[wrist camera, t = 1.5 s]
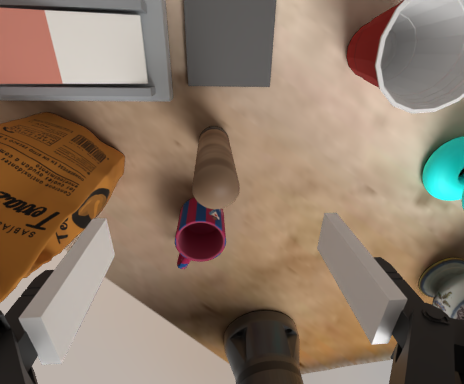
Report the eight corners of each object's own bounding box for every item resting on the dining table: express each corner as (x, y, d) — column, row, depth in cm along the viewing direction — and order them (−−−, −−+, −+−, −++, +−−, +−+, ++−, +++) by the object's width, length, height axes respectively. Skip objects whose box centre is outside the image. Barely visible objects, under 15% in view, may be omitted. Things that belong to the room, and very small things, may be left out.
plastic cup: (306, 69, 33) (354, 73, 22) (366, -25, 29) (459, -76, 18) (369, 114, 36) (437, 136, 25) (430, 34, 32) (542, 20, 21)
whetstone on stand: (173, 98, 33) (166, 104, 28) (3, 96, 31) (-35, 103, 26) (165, 0, 28) (156, -12, 23) (-32, -6, 27) (-87, -22, 22)
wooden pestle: (228, 155, 37) (238, 208, 23) (199, 155, 36) (193, 209, 23) (228, 126, 35) (240, 166, 21) (198, 126, 35) (190, 167, 21)
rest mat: (268, 86, 33) (269, 86, 32) (188, 85, 32) (188, 85, 32) (275, -13, 29) (277, -14, 28) (183, -16, 28) (182, -18, 27)
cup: (232, 210, 41) (236, 236, 35) (195, 252, 44) (193, 283, 38) (196, 187, 39) (193, 211, 32) (160, 234, 42) (152, 263, 36)
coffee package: (104, 208, 39) (-4, 357, 19) (16, 160, 35) (-234, 288, 15) (138, 156, 36) (50, 271, 16) (46, 98, 32) (-221, 156, 12)
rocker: (140, 17, 26) (139, 15, 25) (148, 82, 29) (147, 83, 28) (-56, 7, 22) (-68, 3, 21) (-26, 82, 25) (-36, 83, 24)
